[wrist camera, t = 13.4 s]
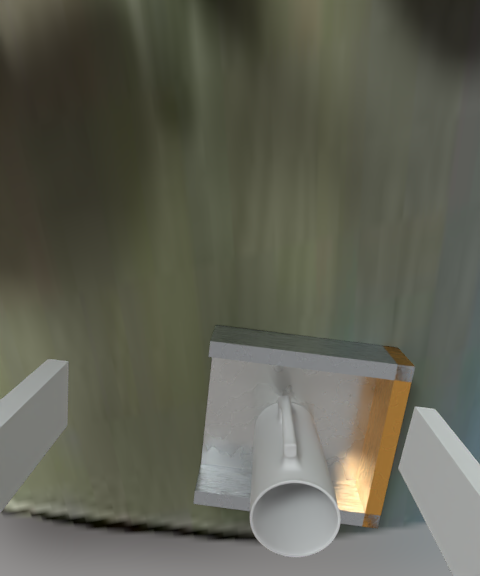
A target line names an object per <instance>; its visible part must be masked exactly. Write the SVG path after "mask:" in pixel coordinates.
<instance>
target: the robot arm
mask: <svg viewBox="0 0 480 576" xmlns="http://www.w3.org/2000/svg"><path fill="white" fill-rule="evenodd" d="M68 362H69V361H61V360H54V359H47V360H46V361H45V362H44V363H43V364H42V365H40V366H39V367H38V368H37V369H36V370H35V371H34V372H32V373H31V374H30V375H29V376H28V377H27V378H25V379H24V380H23V381H22V382H21V383H20V384H18V385H17V386H16V387H15V388H14V389H13V390H11V391H10V392H9V393H8V394H7V395H6V396H4V397H3V398H2V399H1V400H0V513H1V512H2V510H3V509H4V508H5V506H6V505H7V504H8V502H9V501H10V500H11V498H12V497H13V496H14V495H15V493H16V492H17V491H18V489H19V488H20V487H21V485H22V484H23V483H24V481H25V480H26V479H27V478H28V476H29V475H30V474H31V472H32V471H33V470H34V468H35V467H36V466H37V464H38V463H39V462H40V461H41V459H42V458H43V457H44V455H45V454H46V453H47V451H48V450H49V449H50V447H51V446H52V445H53V444H54V442H55V441H56V440H57V438H58V437H59V436H60V434H61V433H62V432H63V430H64V429H65V428H66V427H67V419H68ZM398 469H399V471H400V473H401V475H402V476H403V478H404V480H405V482H406V484H407V486H408V488H409V490H410V492H411V494H412V496H413V498H414V500H415V502H416V504H417V506H418V508H419V510H420V512H421V514H422V516H423V518H424V520H425V522H426V524H427V526H428V528H429V529H430V531H431V533H432V535H433V537H434V539H435V541H436V543H437V545H438V547H439V549H440V551H441V553H442V555H443V557H444V559H445V561H446V563H447V565H448V567H449V569H450V571H451V573H452V575H453V576H480V464H479V463H478V462H477V461H476V459H475V458H474V457H473V456H472V454H471V453H470V452H469V451H468V449H467V448H466V447H465V446H464V444H463V443H462V442H461V441H460V439H459V438H458V437H457V436H456V434H455V433H454V432H453V431H452V429H451V428H450V427H449V426H448V424H447V423H446V422H445V421H444V419H443V418H442V417H441V416H440V415H439V413H438V412H437V411H436V410H435V409H431V408H423V407H416V406H415V408H414V412H413V415H412V419H411V423H410V427H409V430H408V434H407V438H406V441H405V445H404V449H403V453H402V456H401V460H400V464H399V468H398Z"/></svg>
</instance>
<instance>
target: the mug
mask: <svg viewBox="0 0 480 576" xmlns="http://www.w3.org/2000/svg"><path fill="white" fill-rule="evenodd" d="M340 521H341V517H340V511H339V508H338V504H337V499H336V495H335V491H334V488H333V484H332V480H331V477H330V473H329V470H328V466H327V463H326V459H325V456H324V452H323V449H322V445H321V441H320V438H319V435H318V432H317V429H316V425H315V422H314V419H313V417H312V416H311V414H310V413H309V412H308V411H307V410H306V409H305V408H303V407H302V406H300V405H298V404H295V403H291V398H290V396H279V397H278V403H276V404H273V405H271V406H269V407H267V408H266V409H265V410H263V411H262V413H261V414H260V415H259V417H258V419H257V421H256V425H255V435H254V448H253V465H252V480H251V497H250V525H251V529H252V531H253V533H254V535H255V537H256V538H257V540H258V541H259V542H260V543H261V544H262V545H263V546H264V547H266V548H267V549H268V550H270V551H272V552H274V553H276V554H279V555H282V556H286V557H297V558H298V557H306V556H310V555H313V554H316V553H318V552H320V551H322V550H323V549H324V548H326V547H327V546H328V545H329V544H330V543H331V542H332V541H333V540H334V539H335V537H336V535H337V533H338V531H339V528H340Z"/></svg>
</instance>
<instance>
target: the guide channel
mask: <svg viewBox="0 0 480 576" xmlns="http://www.w3.org/2000/svg"><path fill="white" fill-rule="evenodd" d="M209 357H212V363H211V373H210V382H209V392H208V402H207V411H206V421H205V430H204V440H203V449H202V459H201V466H200V470H199V475H198V479H197V484H196V488H195V495H194V504H199V505H207V506H214V507H222V508H229V509H237V510H244V511H250V497H251V480H252V465H253V448H254V435H255V425H256V421H257V419H258V417H259V415H260V414H261V413H262V411H263V410H265V409H266V408H267V407H269V406H271V405H273V404H276V403H278V397H279V396H290V398H291V403H295V404H298V405H300V406H302V407H303V408H305V409H306V410H307V411H308V412H309V413H310V414H311V416H312V417H313V419H314V422H315V425H316V429H317V432H318V435H319V438H320V441H321V445H322V449H323V452H324V456H325V459H326V463H327V466H328V470H329V473H330V477H331V480H332V484H333V488H334V491H335V495H336V499H337V504H338V508H339V511H340V517H341V521H340V524H348V525H355V526H363V527H370V528H378V525H379V520H380V516H381V512H382V507H383V503H384V499H385V494H386V490H387V486H388V481H389V477H390V473H391V468H392V464H393V460H394V456H395V451H396V447H397V443H398V438H399V434H400V430H401V425H402V421H403V417H404V412H405V408H406V404H407V399H408V395H409V391H410V386H411V382H412V378H413V373H414V369H415V366H414V365H413V364H412V363H411V362H410V361H409V359H408V358H407V357H406V356H405V355H404V354H403V353H402V352H401V351H400V349H399V348H397V347H389V346H381V345H373V344H365V343H357V342H349V341H341V340H333V339H325V338H317V337H309V336H301V335H293V334H284V333H276V332H268V331H260V330H252V329H244V328H236V327H228V326H220V325H216V326H215V329H214V332H213V335H212V338H211V340H210V349H209Z"/></svg>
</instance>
